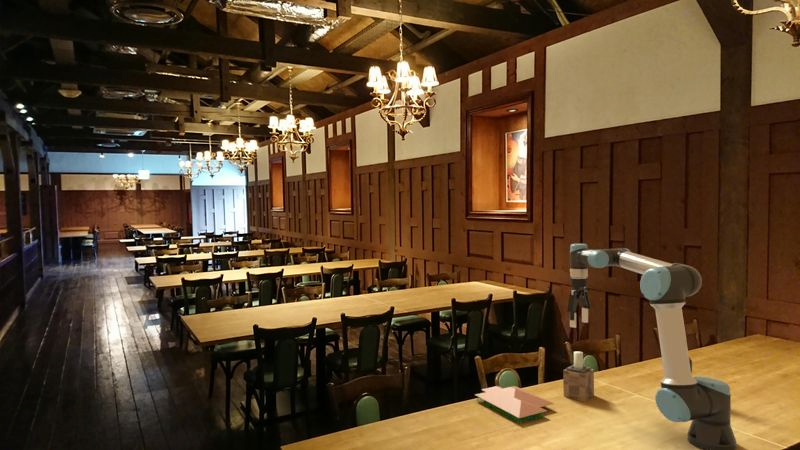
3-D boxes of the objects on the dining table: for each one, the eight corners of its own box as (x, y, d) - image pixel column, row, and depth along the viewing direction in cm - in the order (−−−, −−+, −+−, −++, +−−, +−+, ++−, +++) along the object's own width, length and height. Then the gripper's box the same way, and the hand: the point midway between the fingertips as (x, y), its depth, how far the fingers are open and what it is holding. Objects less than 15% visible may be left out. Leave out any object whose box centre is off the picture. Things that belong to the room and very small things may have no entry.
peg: (581, 380, 230) (580, 354, 230) (572, 378, 233) (572, 352, 233) (584, 378, 233) (584, 352, 233) (576, 376, 236) (576, 350, 235)
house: (511, 391, 242) (510, 374, 242) (562, 414, 213) (561, 395, 213) (471, 399, 232) (471, 382, 232) (519, 426, 203) (518, 405, 202)
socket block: (584, 401, 226) (584, 372, 226) (563, 396, 233) (563, 368, 233) (594, 395, 233) (593, 367, 233) (573, 390, 240) (572, 363, 240)
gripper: (582, 274, 243) (582, 319, 244) (558, 279, 225) (559, 328, 226) (597, 275, 238) (598, 321, 239) (575, 281, 220) (575, 330, 221)
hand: (579, 324), depth 232 cm, fingers open, 12 cm apart
